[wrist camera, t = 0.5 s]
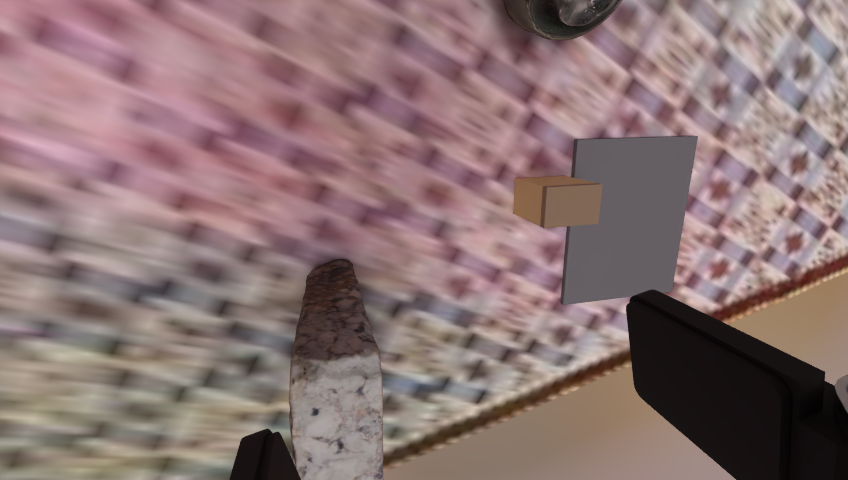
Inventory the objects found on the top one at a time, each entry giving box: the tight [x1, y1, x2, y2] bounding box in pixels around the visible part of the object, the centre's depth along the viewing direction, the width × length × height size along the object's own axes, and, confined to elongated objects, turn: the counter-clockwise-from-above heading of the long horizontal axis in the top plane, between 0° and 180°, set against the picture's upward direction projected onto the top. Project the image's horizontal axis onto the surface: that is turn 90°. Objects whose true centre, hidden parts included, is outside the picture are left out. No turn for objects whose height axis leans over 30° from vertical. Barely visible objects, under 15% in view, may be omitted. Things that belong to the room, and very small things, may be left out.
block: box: [513, 176, 603, 228], centre depth 42 cm, size 4×6×7 cm, turn 91°
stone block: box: [289, 260, 383, 480], centre depth 35 cm, size 13×7×20 cm, turn 3°
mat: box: [561, 136, 698, 305], centre depth 49 cm, size 20×16×1 cm
